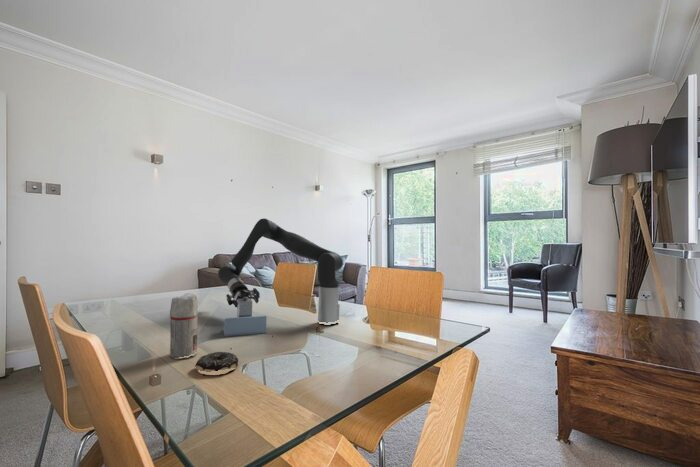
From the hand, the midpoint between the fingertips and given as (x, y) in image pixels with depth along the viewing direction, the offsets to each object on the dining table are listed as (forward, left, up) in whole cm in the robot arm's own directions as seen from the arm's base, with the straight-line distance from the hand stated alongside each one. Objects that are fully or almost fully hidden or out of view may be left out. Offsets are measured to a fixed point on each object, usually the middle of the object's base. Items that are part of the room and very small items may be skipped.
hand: (247, 303), depth 150 cm
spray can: (+25, +34, -9) cm, 43 cm away
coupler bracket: (+3, +11, -9) cm, 15 cm away
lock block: (+3, +10, -8) cm, 14 cm away
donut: (+15, +49, -10) cm, 52 cm away
